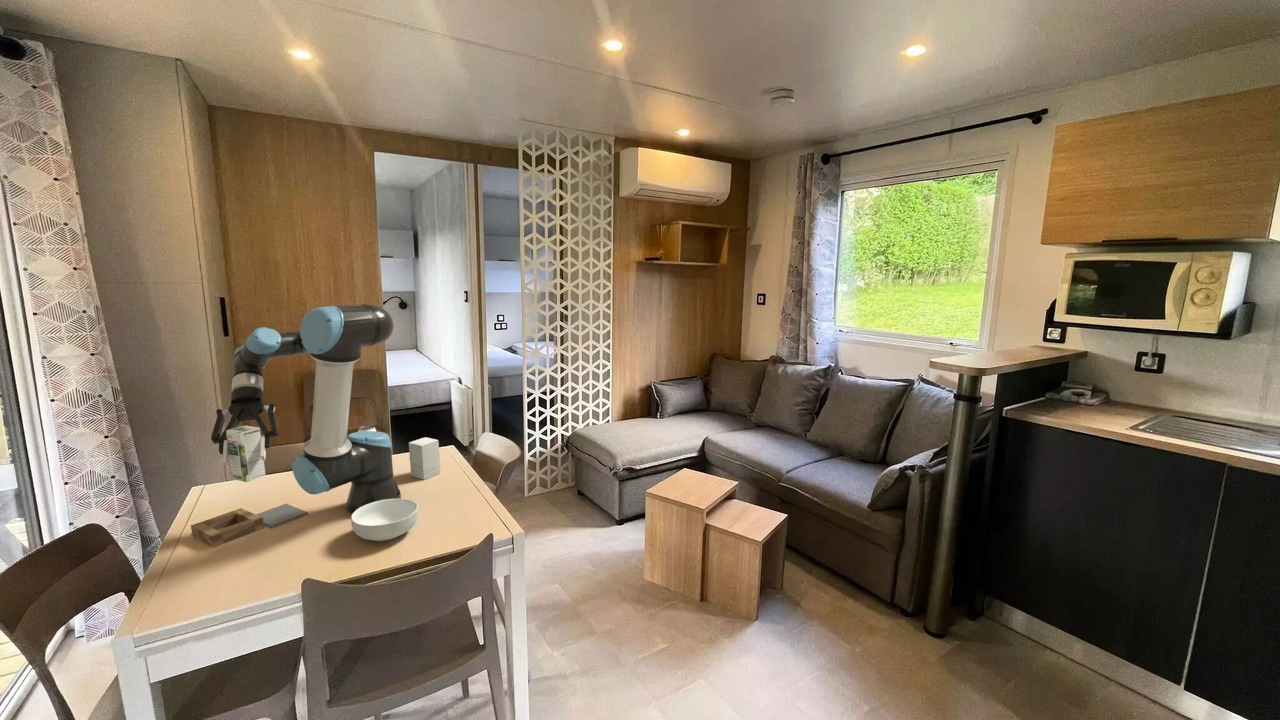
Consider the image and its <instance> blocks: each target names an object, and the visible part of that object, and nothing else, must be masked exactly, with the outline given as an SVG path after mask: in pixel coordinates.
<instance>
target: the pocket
mask: <svg viewBox="0 0 1280 720" xmlns="http://www.w3.org/2000/svg"><path fill="white" fill-rule="evenodd" d="M256 514H257V513H252V511H249V510H246V509H244V508H238V509H235V510H233V511H230V512H226V513H223V514H220V515H218V516H214V517H211V518H209V519H205V520H203V521H200V522H196V523H193V524H191V525H190V529H191V535H192V538H194V539H197V540H198V541H200V542H202V543H204V544H205V545H207V546H210V547H211V548H213V549H214V548H217V547H220V546H222V545H224V544H228V543H230V542H232V541H235V540H238V539H239V538H243V537H246V536H248V535H250V534H253V533H256V532H259V531H261V530H263V529H265V525H264V522H263V518H262V517H260V516H258V515H256Z"/></svg>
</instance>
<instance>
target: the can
mask: <svg viewBox="0 0 1280 720" xmlns="http://www.w3.org/2000/svg"><path fill="white" fill-rule="evenodd" d="M363 431H377V429H376V426H375V425H363V426H359V427H358V431H357V432H363Z"/></svg>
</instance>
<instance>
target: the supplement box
mask: <svg viewBox="0 0 1280 720" xmlns="http://www.w3.org/2000/svg"><path fill="white" fill-rule="evenodd" d="M439 445H440V443H439V439H435V438H431V437H421V438H419V439H416V440H412V441H410V442H408V451H409V463H410V465H409V466H410V467H409V468H410V476H411V477H414V478H417V479H420V480H426V479H430V478H432V477H435V476H438V475H441V459H440V447H439Z"/></svg>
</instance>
